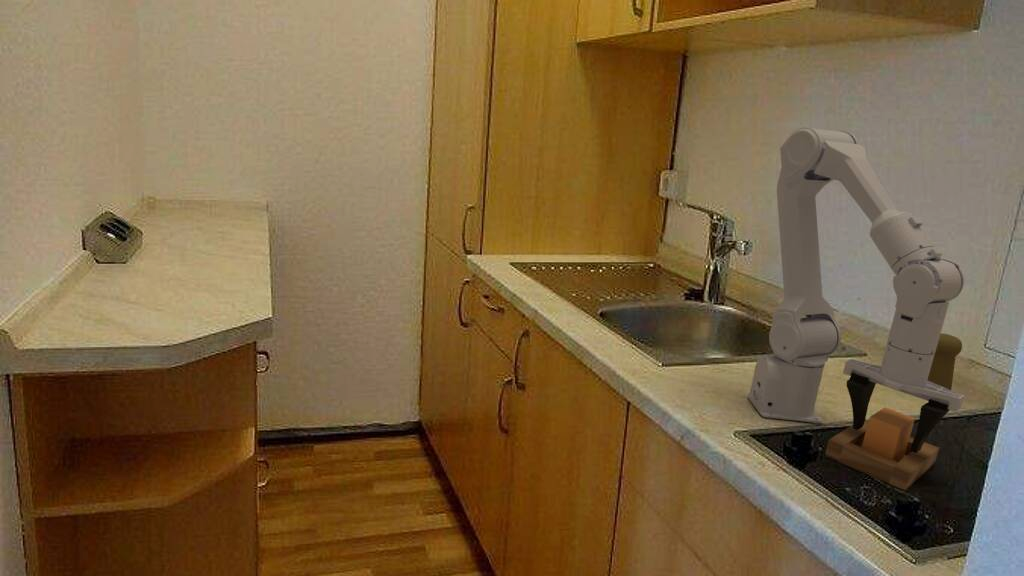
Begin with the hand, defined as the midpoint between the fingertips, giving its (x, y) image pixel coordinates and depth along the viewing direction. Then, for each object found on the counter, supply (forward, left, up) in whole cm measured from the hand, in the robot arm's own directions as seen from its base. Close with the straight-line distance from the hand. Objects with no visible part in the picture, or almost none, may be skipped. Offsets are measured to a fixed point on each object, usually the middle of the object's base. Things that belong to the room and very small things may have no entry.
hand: (885, 438), depth 97 cm
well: (0, 0, -3) cm, 3 cm away
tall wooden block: (0, 0, -3) cm, 3 cm away
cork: (+24, +30, -3) cm, 39 cm away
